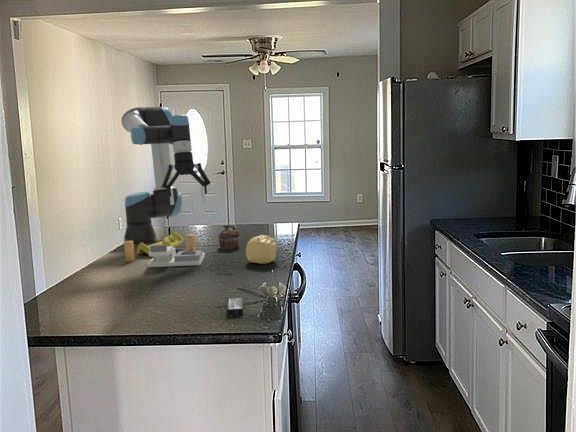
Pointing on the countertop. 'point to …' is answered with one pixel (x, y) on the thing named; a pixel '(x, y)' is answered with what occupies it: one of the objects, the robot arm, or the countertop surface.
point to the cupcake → (229, 237)
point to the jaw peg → (129, 251)
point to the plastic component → (162, 243)
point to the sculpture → (261, 249)
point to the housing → (180, 256)
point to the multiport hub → (235, 307)
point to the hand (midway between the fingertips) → (188, 203)
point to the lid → (160, 250)
